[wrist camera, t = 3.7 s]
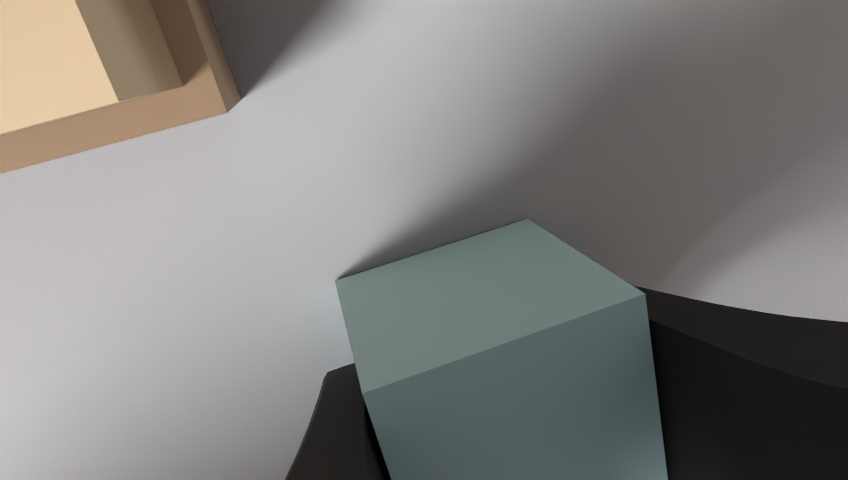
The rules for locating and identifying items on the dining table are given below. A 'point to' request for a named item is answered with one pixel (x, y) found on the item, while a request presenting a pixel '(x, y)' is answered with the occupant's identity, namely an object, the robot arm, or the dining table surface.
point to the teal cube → (506, 362)
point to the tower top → (78, 58)
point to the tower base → (198, 99)
